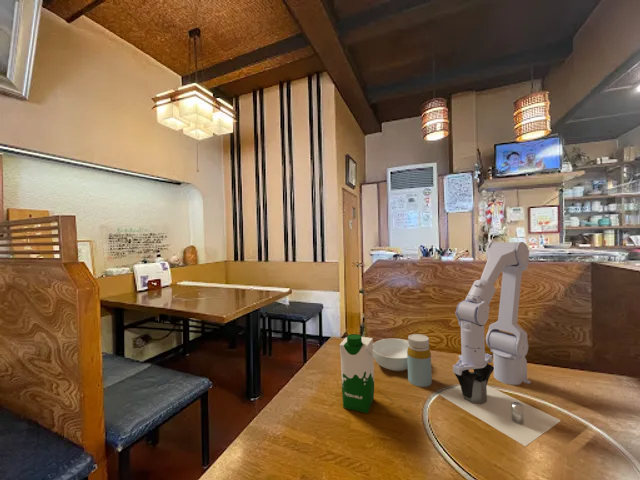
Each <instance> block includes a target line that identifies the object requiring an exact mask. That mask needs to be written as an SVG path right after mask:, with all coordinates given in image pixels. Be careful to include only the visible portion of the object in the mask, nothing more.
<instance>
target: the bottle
mask: <svg viewBox="0 0 640 480" xmlns="http://www.w3.org/2000/svg"><path fill="white" fill-rule="evenodd" d="M407 340H408V346H409V347H408V350H407V361H408V370H407V381H408V383H410V384H411V385H413V386H415V387H419V388H427V387H430V386H431V385H432V384H433V383H432V381H433V378H432V353H431V351H430V339H429V337H428V336H427V335H425V334H421V333H420V334H419V333H413V334H409V335H408V337H407Z"/></svg>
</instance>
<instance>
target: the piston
mask: <svg viewBox="0 0 640 480" xmlns="http://www.w3.org/2000/svg"><path fill="white" fill-rule="evenodd" d="M511 410H512V421H513V422H514V423H516V424H520V425H522V424H524V407H523V405H522V404H520V403H518V402H512V403H511Z"/></svg>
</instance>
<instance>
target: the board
mask: <svg viewBox="0 0 640 480" xmlns="http://www.w3.org/2000/svg"><path fill="white" fill-rule="evenodd" d="M486 388H487V402H486V403H484V404H474V403H471V402H469V401H467V400H465V399H464V397H463V394H462V389H461V386H460V385H457V386H455V387H452V388H451V389H448V390H445V391H444V392H442V393H439V394H438V396H441V397H442V398H443V399H446V400H448V401H449V402H450V403H452V404H454V405H456V406H457V407H458V408H461V409H462V410H463V411H465V412H468V413H469V414H470V415H472V416H473V417H476V418H477V419H479V420H480V421H482V422H483V423H485V424H488V425H489V426H490V427H491V428H494V429H495V430H497V431H499V432H500V433H502V434H504V435H506V436H507V437H509V438H510V439H513V440H514V441H516V442H517V443H519V444H520V445H523V447H527V446H529V445H530V444H531V443H533V442H534V441H535V440H537V439H538V438H539V437H541V436H543V434H545V433H546V432H547V431H550V429H552V428H553V427H554V426H556V425H557V424H559V423H560V422H561V421H562V420H561V419H559V418H557V417H555V416H553V415H550V414H549V413H546V412H544V411H542V410H540V409H538V408H536V407H533V406H532V405H529V404H528V403H525V402H523V401H521V400H519V399H517V398H515V397H512V396H510V395H508V394H506V393H504V392H502V391H500V390H497V389H496V388H493V387H491V386H490V385H487V387H486ZM512 402H518V403H520V404H522V405H523V407H524V424H522V425H520V424H516V423H514V422H513V421H512V410H511V403H512Z"/></svg>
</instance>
